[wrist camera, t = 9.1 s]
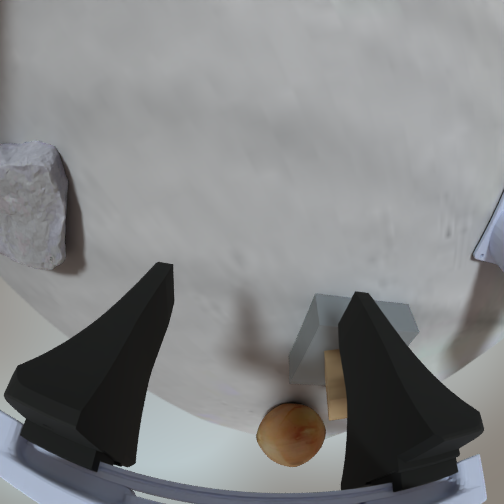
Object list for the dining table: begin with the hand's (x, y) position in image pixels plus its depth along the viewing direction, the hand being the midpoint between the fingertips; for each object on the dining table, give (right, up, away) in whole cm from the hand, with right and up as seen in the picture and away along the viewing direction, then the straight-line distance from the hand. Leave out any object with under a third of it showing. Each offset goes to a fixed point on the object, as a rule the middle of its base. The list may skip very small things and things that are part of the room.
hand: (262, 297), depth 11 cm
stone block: (-20, +7, +10) cm, 23 cm away
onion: (+6, -21, +29) cm, 36 cm away
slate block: (+9, -6, +18) cm, 21 cm away
